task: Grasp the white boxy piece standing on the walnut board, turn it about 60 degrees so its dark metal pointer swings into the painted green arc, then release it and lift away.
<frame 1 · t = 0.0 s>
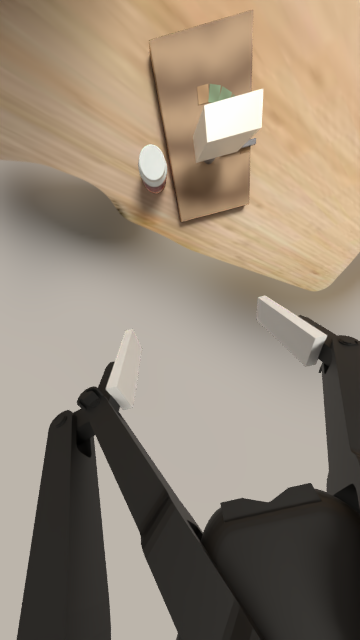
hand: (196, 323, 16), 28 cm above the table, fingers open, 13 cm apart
white boxy piece: (234, 135, 23), point 8 cm above the table, hinge at 0.0°
pill bottle: (154, 178, 30), on the table
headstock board: (206, 144, 29), on the table
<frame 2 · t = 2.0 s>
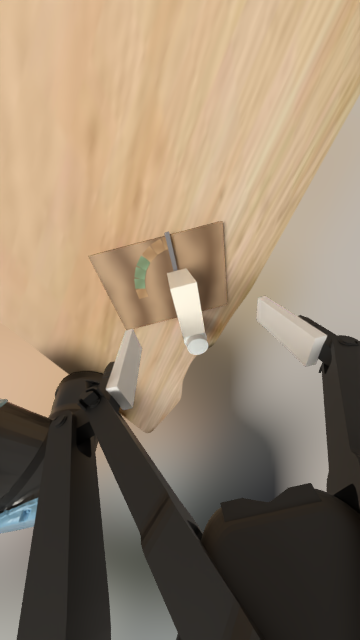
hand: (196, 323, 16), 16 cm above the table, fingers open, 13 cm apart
white boxy piece: (179, 279, 22), point 8 cm above the table, hinge at 0.0°
pill bottle: (189, 322, 35), on the table
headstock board: (166, 280, 29), on the table
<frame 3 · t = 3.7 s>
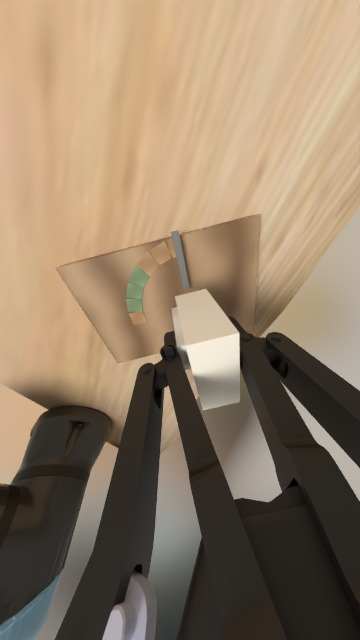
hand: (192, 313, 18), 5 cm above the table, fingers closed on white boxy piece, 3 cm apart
white boxy piece: (195, 308, 13), point 8 cm above the table, hinge at 0.0°, touching gripper
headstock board: (172, 298, 21), on the table
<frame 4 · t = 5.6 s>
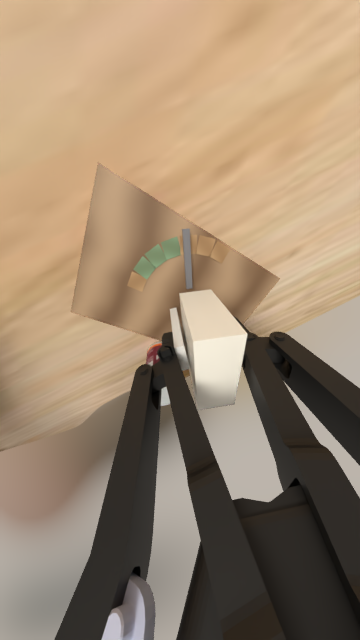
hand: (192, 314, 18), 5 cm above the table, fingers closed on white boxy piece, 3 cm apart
white boxy piece: (198, 307, 13), point 8 cm above the table, hinge at 32.4°, touching gripper
pill bottle: (161, 350, 26), on the table
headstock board: (176, 289, 21), on the table
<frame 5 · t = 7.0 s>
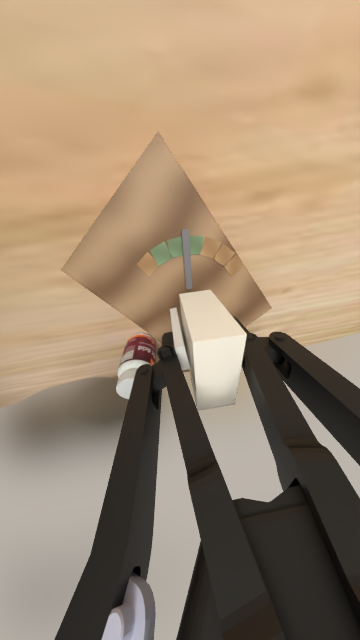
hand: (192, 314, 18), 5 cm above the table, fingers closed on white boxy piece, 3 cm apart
white boxy piece: (198, 307, 13), point 8 cm above the table, hinge at 52.9°, touching gripper
pill bottle: (141, 342, 25), on the table
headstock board: (180, 286, 20), on the table
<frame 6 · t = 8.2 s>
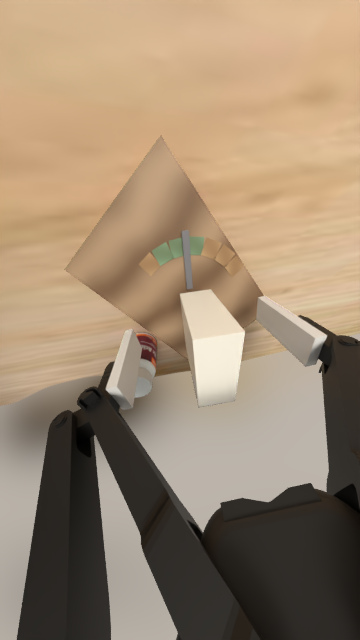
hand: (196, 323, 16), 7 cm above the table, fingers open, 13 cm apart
white boxy piece: (198, 307, 14), point 8 cm above the table, hinge at 53.8°
pill bottle: (142, 342, 25), on the table
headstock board: (181, 286, 21), on the table
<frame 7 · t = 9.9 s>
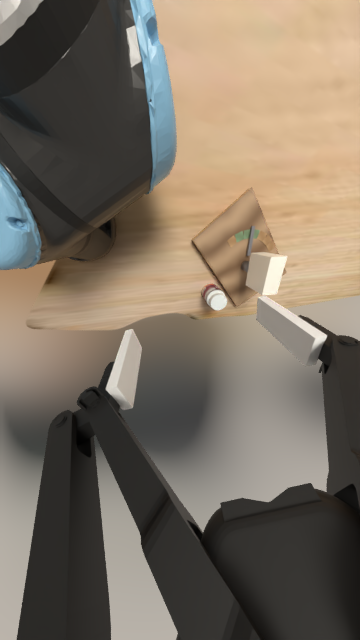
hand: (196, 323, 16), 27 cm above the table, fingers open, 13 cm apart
white boxy piece: (260, 258, 32), point 8 cm above the table, hinge at 54.0°
pill bottle: (209, 291, 43), on the table
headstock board: (239, 256, 39), on the table
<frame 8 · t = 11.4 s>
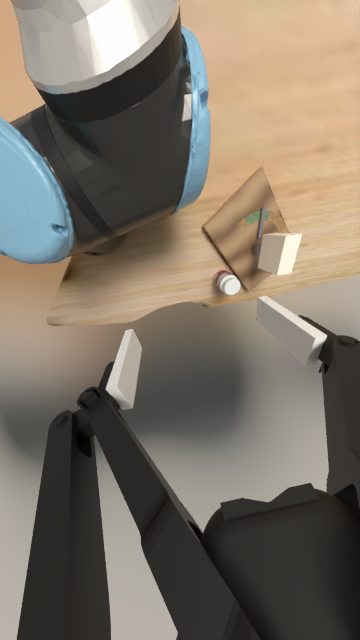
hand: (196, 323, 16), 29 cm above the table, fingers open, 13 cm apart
white boxy piece: (272, 239, 32), point 8 cm above the table, hinge at 54.0°
pill bottle: (220, 277, 43), on the table
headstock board: (250, 240, 39), on the table
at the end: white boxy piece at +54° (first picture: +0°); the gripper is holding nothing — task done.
